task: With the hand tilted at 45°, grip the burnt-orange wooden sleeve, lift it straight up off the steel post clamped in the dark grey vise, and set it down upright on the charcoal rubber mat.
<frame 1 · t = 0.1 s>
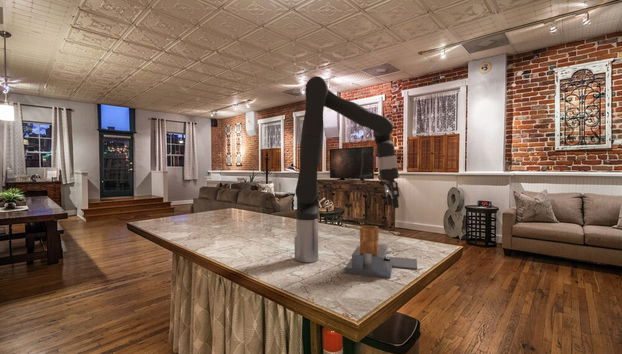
hand: (393, 206, 120), 22 cm above the table, tool pointing down, fingers open, 8 cm apart
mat: (401, 263, 116), on the table
vise: (369, 270, 109), on the table
sleeve: (369, 251, 109), point 7 cm above the table, touching vise
mechanical component: (380, 252, 134), on the table
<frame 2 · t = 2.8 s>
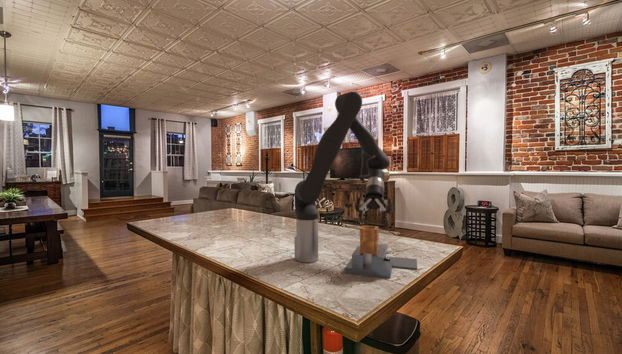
hand: (371, 220, 115), 18 cm above the table, tool tilted 45°, fingers open, 8 cm apart
nothing on the table moved.
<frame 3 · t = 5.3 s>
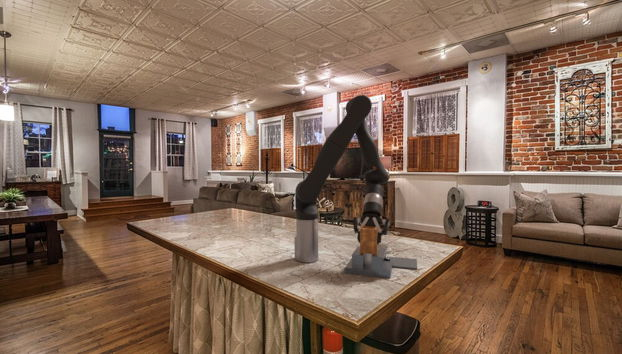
hand: (368, 242, 107), 11 cm above the table, tool tilted 45°, fingers closed on sleeve, 6 cm apart
sleeve: (369, 251, 109), point 7 cm above the table, touching gripper, vise
everything else where it was.
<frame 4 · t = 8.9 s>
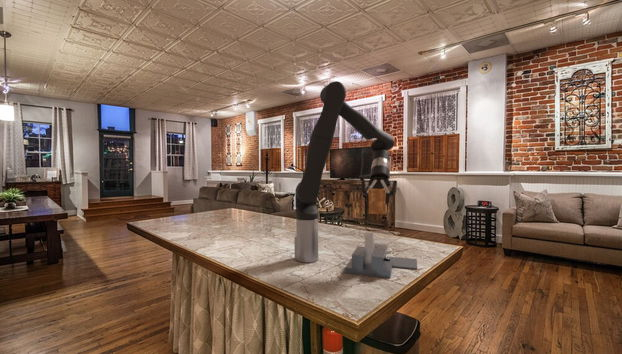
hand: (377, 203, 108), 25 cm above the table, tool tilted 45°, fingers closed on sleeve, 6 cm apart
sleeve: (378, 212, 110), point 21 cm above the table, touching gripper
everything else where it was.
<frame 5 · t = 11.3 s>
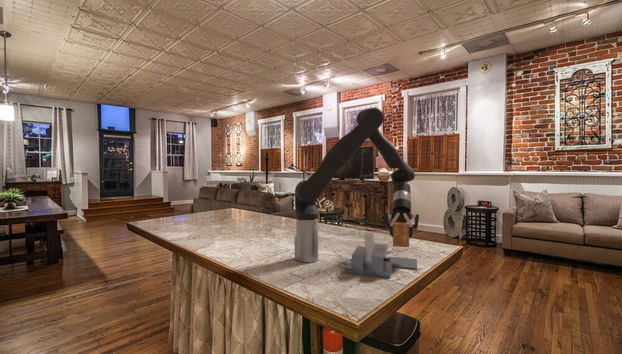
hand: (401, 236, 114), 11 cm above the table, tool tilted 45°, fingers closed on sleeve, 6 cm apart
sleeve: (401, 244, 116), point 7 cm above the table, touching gripper
everything else where it was.
when the fingers open (6 cm above the table, at t = 12.9 s): sleeve drops 1 cm, resting on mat.
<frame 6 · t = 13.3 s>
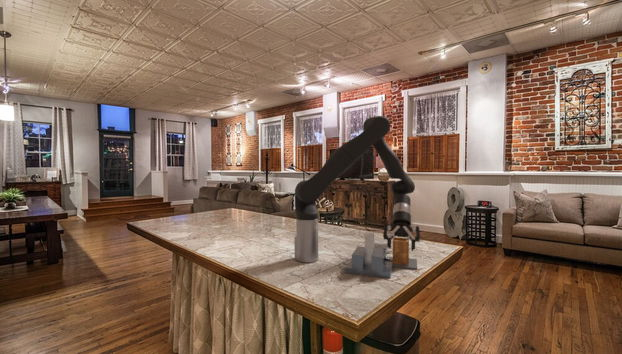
hand: (401, 248, 115), 6 cm above the table, tool tilted 45°, fingers open, 8 cm apart
sleeve: (400, 261, 116), point 1 cm above the table, touching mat
everything else where it was.
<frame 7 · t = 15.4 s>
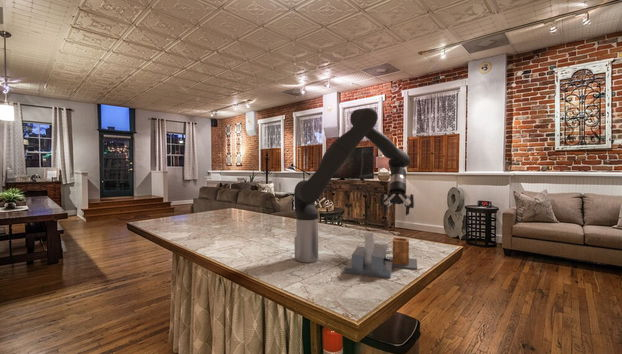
hand: (396, 213, 124), 19 cm above the table, tool tilted 45°, fingers open, 8 cm apart
nothing on the table moved.
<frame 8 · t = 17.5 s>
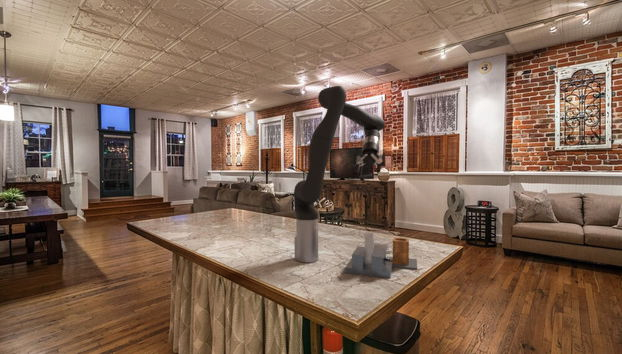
hand: (367, 172, 125), 37 cm above the table, tool tilted 45°, fingers open, 8 cm apart
nothing on the table moved.
at the end: sleeve inside the target area on the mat (0.1 cm from its centre), point 0.6 cm above the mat's base; sleeve tilted 0°; the gripper is holding nothing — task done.
